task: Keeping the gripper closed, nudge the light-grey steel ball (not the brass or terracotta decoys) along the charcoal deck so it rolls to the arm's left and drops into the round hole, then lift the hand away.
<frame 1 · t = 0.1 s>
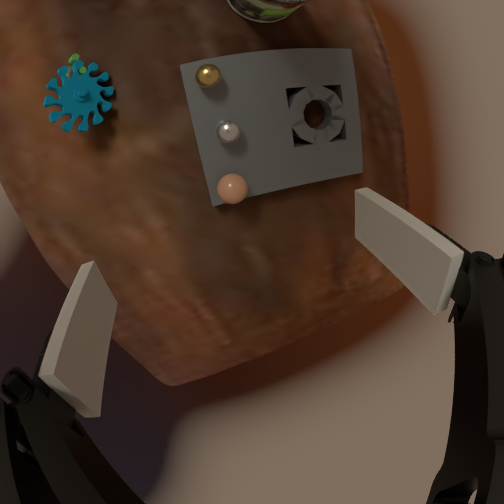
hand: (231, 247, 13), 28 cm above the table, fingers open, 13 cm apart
steel ball: (228, 130, 32), point 4 cm above the table, touching deck
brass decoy: (208, 75, 28), point 4 cm above the table, touching deck
gear: (88, 92, 28), on the table
deck: (272, 118, 36), on the table
terracotta decoy: (232, 188, 35), point 4 cm above the table, touching deck
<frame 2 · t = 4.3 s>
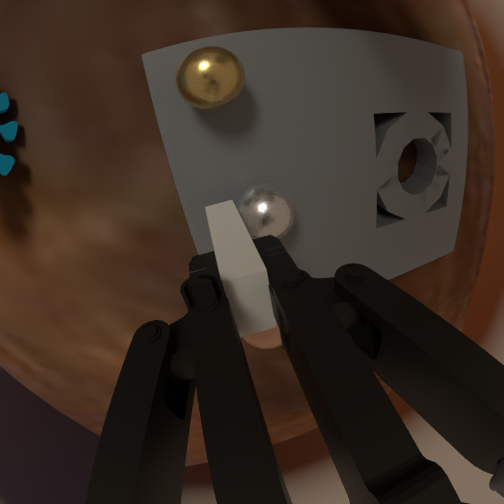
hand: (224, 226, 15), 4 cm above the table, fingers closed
steel ball: (265, 212, 15), point 4 cm above the table, tilted 10°, touching deck, gripper
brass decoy: (210, 77, 11), point 4 cm above the table, touching deck
deck: (337, 169, 19), on the table
terracotta decoy: (265, 320, 19), point 4 cm above the table, touching deck
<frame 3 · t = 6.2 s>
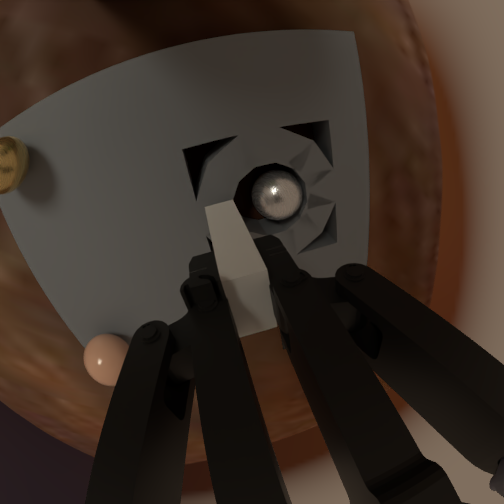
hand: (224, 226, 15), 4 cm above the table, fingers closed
steel ball: (277, 194, 17), point 2 cm above the table, tilted 121°
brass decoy: (5, 164, 10), point 4 cm above the table, touching deck
deck: (173, 211, 18), on the table
terracotta decoy: (109, 360, 17), point 4 cm above the table, touching deck
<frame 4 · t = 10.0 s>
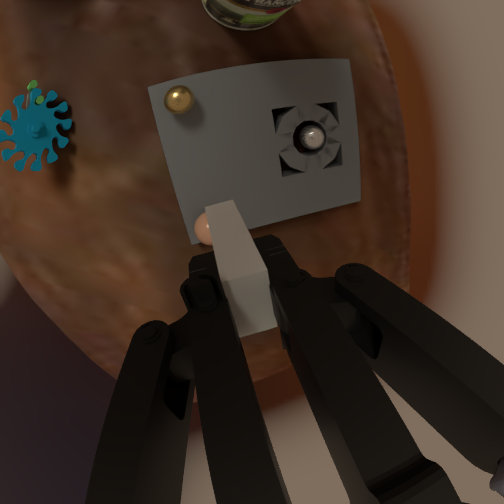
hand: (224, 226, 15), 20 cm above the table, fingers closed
steel ball: (311, 137, 32), point 2 cm above the table, tilted 121°
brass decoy: (178, 99, 24), point 4 cm above the table, touching deck
gear: (48, 121, 24), on the table
deck: (257, 143, 33), on the table
terracotta decoy: (211, 228, 32), point 4 cm above the table, touching deck
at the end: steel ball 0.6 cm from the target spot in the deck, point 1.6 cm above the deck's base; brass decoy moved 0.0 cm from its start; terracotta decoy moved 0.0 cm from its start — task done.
